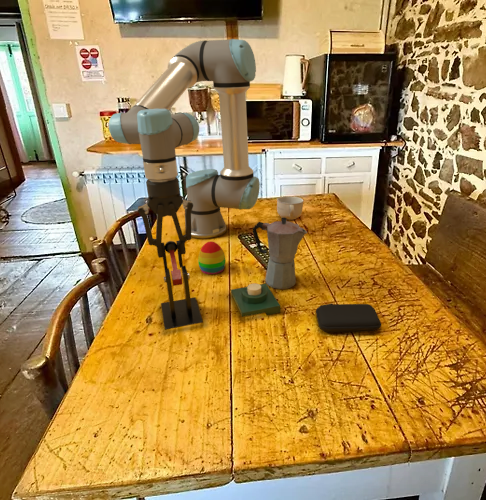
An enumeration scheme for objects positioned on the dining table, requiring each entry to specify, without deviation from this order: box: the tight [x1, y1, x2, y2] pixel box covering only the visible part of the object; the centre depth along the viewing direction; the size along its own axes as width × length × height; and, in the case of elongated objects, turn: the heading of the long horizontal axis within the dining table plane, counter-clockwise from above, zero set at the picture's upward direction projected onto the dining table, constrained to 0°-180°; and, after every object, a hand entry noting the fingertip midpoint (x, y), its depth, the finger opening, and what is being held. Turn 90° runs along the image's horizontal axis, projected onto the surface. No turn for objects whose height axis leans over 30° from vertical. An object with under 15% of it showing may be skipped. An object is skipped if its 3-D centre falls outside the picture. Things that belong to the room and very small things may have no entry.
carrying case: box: [315, 302, 382, 333], centre depth 96 cm, size 11×3×15 cm
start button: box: [246, 282, 261, 296], centre depth 102 cm, size 4×4×2 cm
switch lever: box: [164, 240, 183, 287], centre depth 98 cm, size 13×3×3 cm, turn 19°
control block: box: [230, 283, 281, 318], centre depth 103 cm, size 12×10×4 cm
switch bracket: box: [160, 265, 204, 331], centre depth 97 cm, size 12×9×13 cm
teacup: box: [276, 195, 304, 221], centre depth 162 cm, size 14×11×8 cm
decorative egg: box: [197, 240, 227, 275], centre depth 119 cm, size 8×8×10 cm
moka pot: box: [251, 217, 308, 290], centre depth 111 cm, size 10×15×20 cm, turn 78°
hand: (173, 266), depth 103 cm, fingers closed on switch lever, 3 cm apart
